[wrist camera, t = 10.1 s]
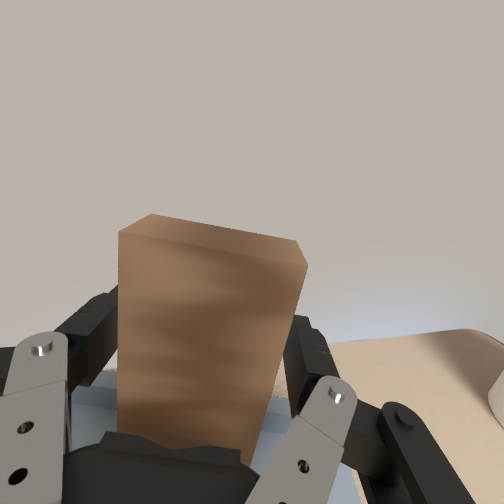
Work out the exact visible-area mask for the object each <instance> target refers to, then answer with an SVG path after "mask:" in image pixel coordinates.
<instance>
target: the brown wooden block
mask: <svg viewBox="0 0 504 504" xmlns="http://www.w3.org/2000/svg"><path fill="white" fill-rule="evenodd" d="M118 249H119V250H118V357H117V360H118V361H117V432H118V433H125V434H133V435H140V436H142V437H144V438H146V439H148V440H151V441H153V442H155V443H157V444H159V445H161V446H163V447H166V448H168V449H170V450H177V449H185V448H192V447H199V446H207V445H210V446H217V447H224V448H231V449H238V450H241V457H240V462H241V463H243V464H245V465H247V466H248V467H250V466H251V462H252V459H253V455H254V452H255V448H256V445H257V441H258V438H259V434H260V431H261V428H262V424H263V421H264V417H265V414H266V410H267V407H268V403H269V400H270V396H271V393H272V390H273V386H274V383H275V379H276V376H277V372H278V369H279V365H280V362H281V358H282V355H283V351H284V348H285V345H286V341H287V338H288V334H289V331H290V327H291V324H292V320H293V317H294V313H295V310H296V306H297V303H298V300H299V296H300V293H301V289H302V286H303V282H304V279H305V275H306V272H307V269H308V264H307V262H306V260H305V258H304V256H303V254H302V252H301V250H300V248H299V246H298V244H297V242H296V241H294V240H288V239H283V238H278V237H273V236H267V235H262V234H257V233H251V232H245V231H241V230H235V229H230V228H224V227H219V226H213V225H208V224H203V223H197V222H192V221H186V220H181V219H176V218H171V217H165V216H160V215H154V214H150V215H148V216H146V217H144V218H143V219H141V220H139V221H137V222H136V223H133V224H132V225H130V226H128V227H126V228H124V229H122V230H120V231H119V246H118Z"/></svg>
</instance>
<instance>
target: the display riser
mask: <svg viewBox="0 0 504 504" xmlns="http://www.w3.org/2000/svg"><path fill="white" fill-rule="evenodd" d="M293 420H294V419H292V418H291V411H290V404H289V399H284V398H277V397H271V396H270V400H269V403H268V407H267V410H266V414H265V417H264V421H263V424H262V428H261V431H260V434H259V438H258V441H257V445H256V448H255V452H254V455H253V459H252V462H251V466H250V468H251V469H253V470H254V471H255V472H256V473H258V474H259V475H260V476H261V475H262V473H263V471H264V469H265V468H266V466H267V464H268V463H269V461H270V459H271V457H272V456H273V454H274V452H275V451H276V449H277V447H278V445H279V444H280V442H281V440H282V439H283V437H284V435H285V433H286V432H287V430H288V428H289V426H290V425H291V423H292V421H293ZM106 431H111V432H117V373H114V372H108V371H101V372H100V373H99V375H98V376H97V378H96V379H95V380H94V382H93V383H92V384H91V386H90V387H83V386H77V387H76V388H75V390H74V391H73V392H72V451H73V450H76V449H78V448H81V447H84V446H88V445H92V444H97V443H100V441H101V439H102V437H103V435H104V434H105V432H106ZM327 504H361V501H360V498H359V494H358V491H357V488H356V485H355V481H354V478H353V475H352V471H351V468H350V467H348V466H347V465H345V464H343V463H341V462H340V464H339V468H338V471H337V474H336V477H335V480H334V483H333V487H332V490H331V493H330V496H329V499H328V502H327Z"/></svg>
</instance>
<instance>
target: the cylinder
mask: <svg viewBox="0 0 504 504" xmlns="http://www.w3.org/2000/svg"><path fill="white" fill-rule="evenodd" d="M488 403H489V405H490V407H491V409H492V411H493V414H494V416H495V417H496V419H497V420H498V421H499V423H500V424H501V425H502V427H503V428H504V370H503V372H502V373H501V375H500V376H499V378H498V379H497V381H496V382H495V383H494V385H493V386H492V388H491V389H490V391H489V392H488Z"/></svg>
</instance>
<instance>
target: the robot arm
mask: <svg viewBox="0 0 504 504" xmlns="http://www.w3.org/2000/svg"><path fill="white" fill-rule="evenodd" d="M117 349H118V285H117V286H116V287H115V288H114V289H112V290H111V291H110V292H109V293H102V294H100V295H97V296H95V297H93V298H92V299H90V300H89V301H88V302H87V303H86V304H85V305H84V306H82V307H81V308H80V309H79V310H78V311H77V312H75V313H74V314H73V315H72V316H70V317H69V318H68V319H67V320H66V321H65V322H64V323H63V324H61V325H60V326H59V327H58V328H56V329H55V330H54V331H53V332H43V333H39V334H35V335H33V336H30V337H28V338H26V339H24V340H23V341H21V342H20V343H19V344H18V345H17V346H16V347H4V348H0V504H327V502H328V499H329V496H330V493H331V490H332V487H333V483H334V480H335V477H336V474H337V471H338V468H339V464H340V462H341V463H343V464H345V465H347V466H348V467H350V468H352V469H354V470H356V471H357V472H358V475H359V478H360V481H361V484H362V487H363V490H364V493H365V496H366V499H367V502H368V504H476V503H475V502H474V500H473V499H472V497H471V495H470V494H469V492H468V491H467V489H466V488H465V486H464V484H463V483H462V481H461V480H460V478H459V477H458V475H457V474H456V472H455V470H454V469H453V467H452V466H451V464H450V463H449V461H448V460H447V458H446V456H445V455H444V453H443V452H442V450H441V449H440V447H439V445H438V444H437V442H436V441H435V439H434V438H433V436H432V435H431V433H430V431H429V430H428V428H427V427H426V425H425V424H424V422H423V421H422V420H421V418H420V417H419V416H418V415H417V414H416V413H415V412H413V411H412V410H411V409H409V408H408V407H406V406H404V405H402V404H400V403H397V402H386V403H385V404H384V405H383V407H382V409H379V408H377V407H374V406H372V405H370V404H367V403H365V402H363V401H361V400H359V399H357V395H356V393H355V391H354V390H353V389H352V387H351V386H350V385H349V384H348V383H346V382H345V381H343V380H342V379H340V376H339V374H338V371H337V368H336V366H335V363H334V361H333V358H332V355H331V354H330V350H329V348H328V345H327V342H326V340H325V337H324V336H323V335H322V334H321V333H320V332H319V330H318V329H313V328H311V325H310V322H309V318H308V317H306V316H300V315H294V317H293V320H292V324H291V327H290V331H289V334H288V338H287V341H286V345H285V348H284V351H283V360H284V367H285V375H286V382H287V389H288V396H289V404H290V411H291V418H292V419H294V420H293V421H292V423H291V425H290V426H289V428H288V430H287V432H286V433H285V435H284V437H283V439H282V440H281V442H280V444H279V445H278V447H277V449H276V451H275V452H274V454H273V456H272V457H271V459H270V461H269V463H268V464H267V466H266V468H265V469H264V471H263V473H262V475H261V476H260V475H259V474H258V473H256V472H255V471H254V470H253V469H251V468H250V467H248V466H247V465H245V464H243V463H241V462H240V457H241V450H238V449H231V448H224V447H217V446H210V445H207V446H199V447H192V448H185V449H177V450H170V449H168V448H166V447H163V446H161V445H159V444H157V443H155V442H153V441H151V440H148V439H146V438H144V437H142V436H140V435H133V434H125V433H118V432H111V431H106V432H105V434H104V435H103V437H102V439H101V441H100V443H97V444H92V445H88V446H84V447H81V448H78V449H76V450H73V451H72V392H73V391H74V390H75V388H76V387H77V386H83V387H90V386H91V384H92V383H93V382H94V380H95V379H96V378H97V376H98V375H99V373H100V372H101V371H102V369H103V368H104V366H105V365H106V364H107V362H108V361H109V360H110V358H111V357H112V355H113V354H114V353H115V351H116V350H117Z"/></svg>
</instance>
